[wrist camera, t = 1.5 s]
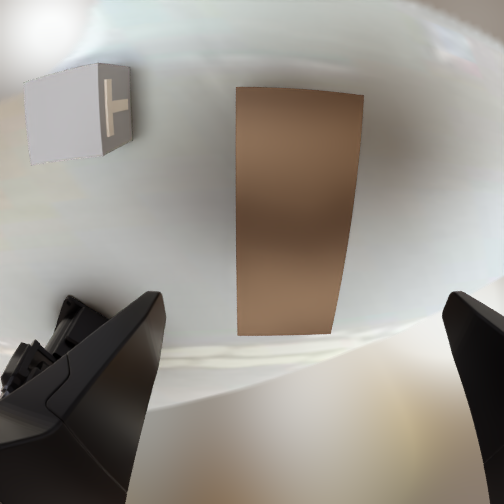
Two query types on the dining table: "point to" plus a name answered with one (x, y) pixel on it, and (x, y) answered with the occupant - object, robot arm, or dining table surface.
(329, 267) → the brown wooden block
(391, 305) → the dining table surface
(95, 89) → the letter cube
